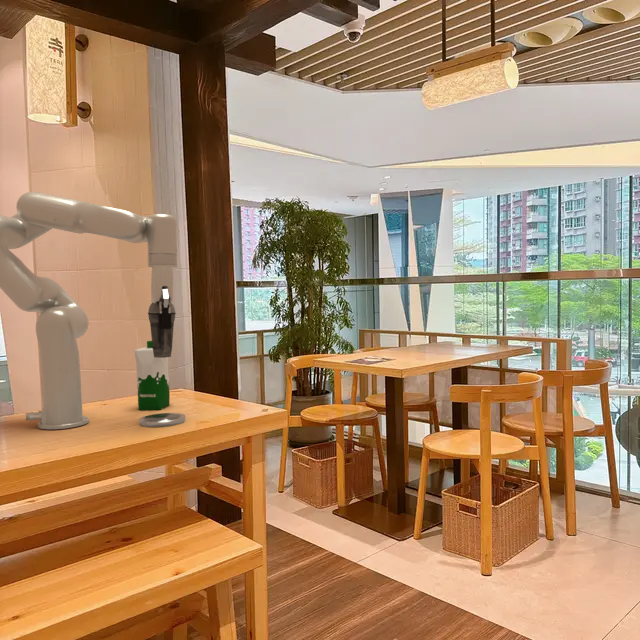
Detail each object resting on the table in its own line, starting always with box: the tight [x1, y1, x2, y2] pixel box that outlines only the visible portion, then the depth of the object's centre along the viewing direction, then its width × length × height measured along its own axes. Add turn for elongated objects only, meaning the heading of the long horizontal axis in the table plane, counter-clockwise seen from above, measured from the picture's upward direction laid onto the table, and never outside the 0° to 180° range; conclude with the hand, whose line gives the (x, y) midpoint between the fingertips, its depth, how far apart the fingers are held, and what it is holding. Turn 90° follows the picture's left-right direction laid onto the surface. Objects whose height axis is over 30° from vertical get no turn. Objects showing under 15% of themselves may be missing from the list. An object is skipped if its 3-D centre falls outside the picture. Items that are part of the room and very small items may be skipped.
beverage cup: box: [147, 301, 177, 358], centre depth 159 cm, size 7×7×20 cm
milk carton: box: [133, 340, 171, 411], centre depth 179 cm, size 9×9×20 cm
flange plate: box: [138, 412, 187, 428], centre depth 159 cm, size 12×12×1 cm
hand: (163, 327), depth 159 cm, fingers closed on beverage cup, 7 cm apart
